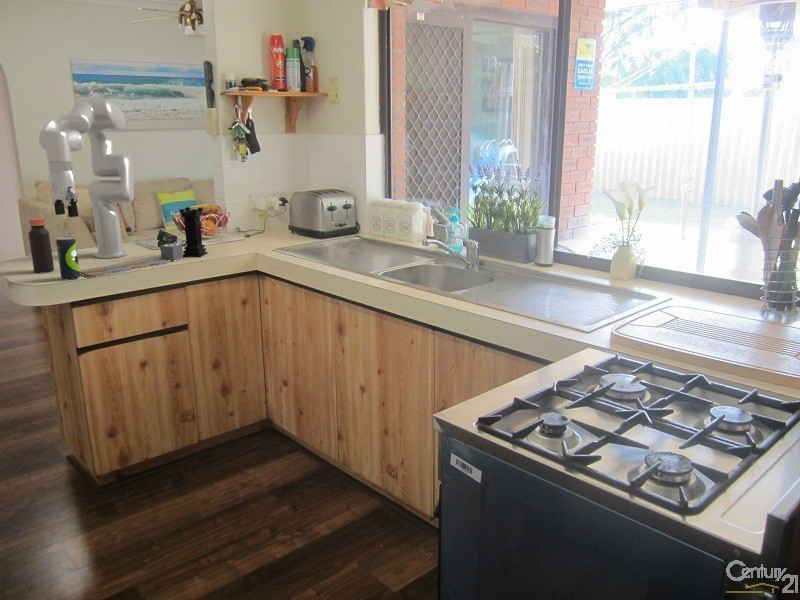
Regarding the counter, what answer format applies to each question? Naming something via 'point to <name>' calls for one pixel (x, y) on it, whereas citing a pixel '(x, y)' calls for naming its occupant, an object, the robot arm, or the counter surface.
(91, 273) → the board
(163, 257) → the die
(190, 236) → the chess piece
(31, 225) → the bottle
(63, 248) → the beverage can
